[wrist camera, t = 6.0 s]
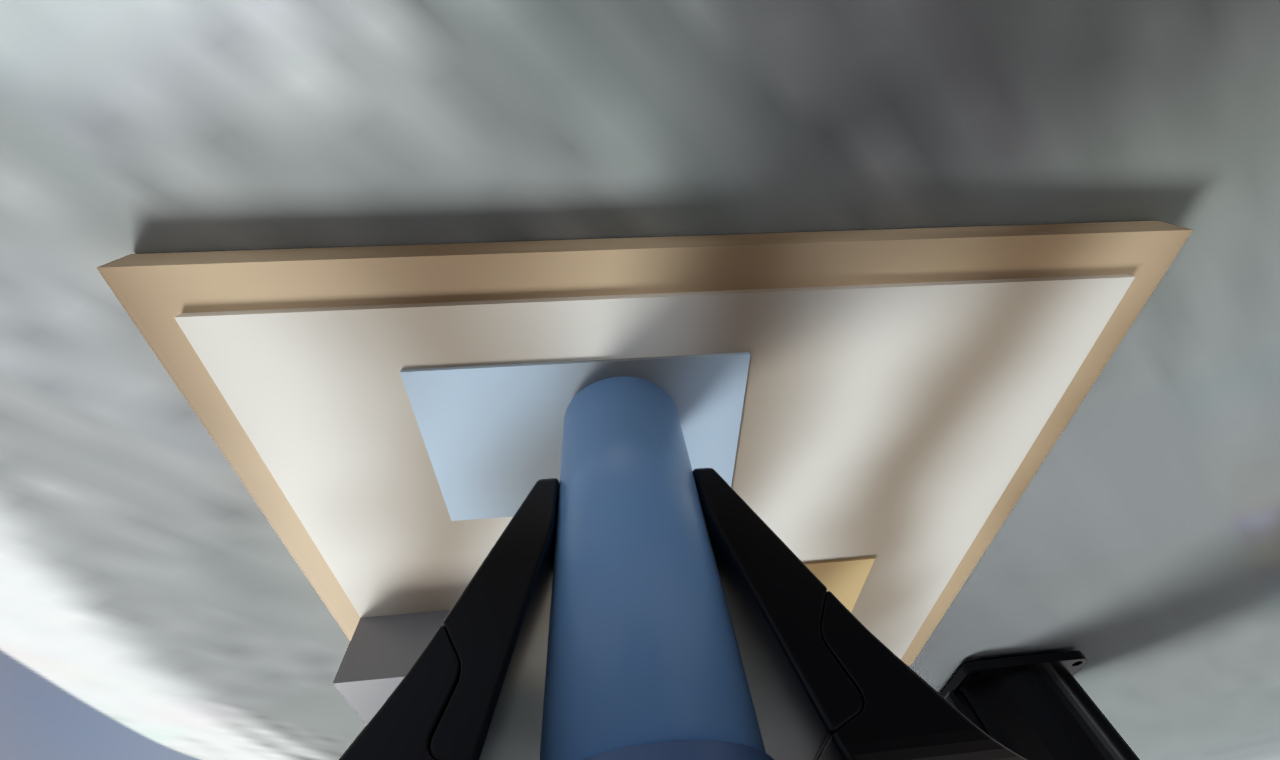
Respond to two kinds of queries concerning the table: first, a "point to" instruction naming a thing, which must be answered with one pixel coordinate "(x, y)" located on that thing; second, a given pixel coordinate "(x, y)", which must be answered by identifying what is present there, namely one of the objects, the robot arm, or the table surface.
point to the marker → (638, 595)
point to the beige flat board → (665, 355)
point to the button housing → (383, 657)
